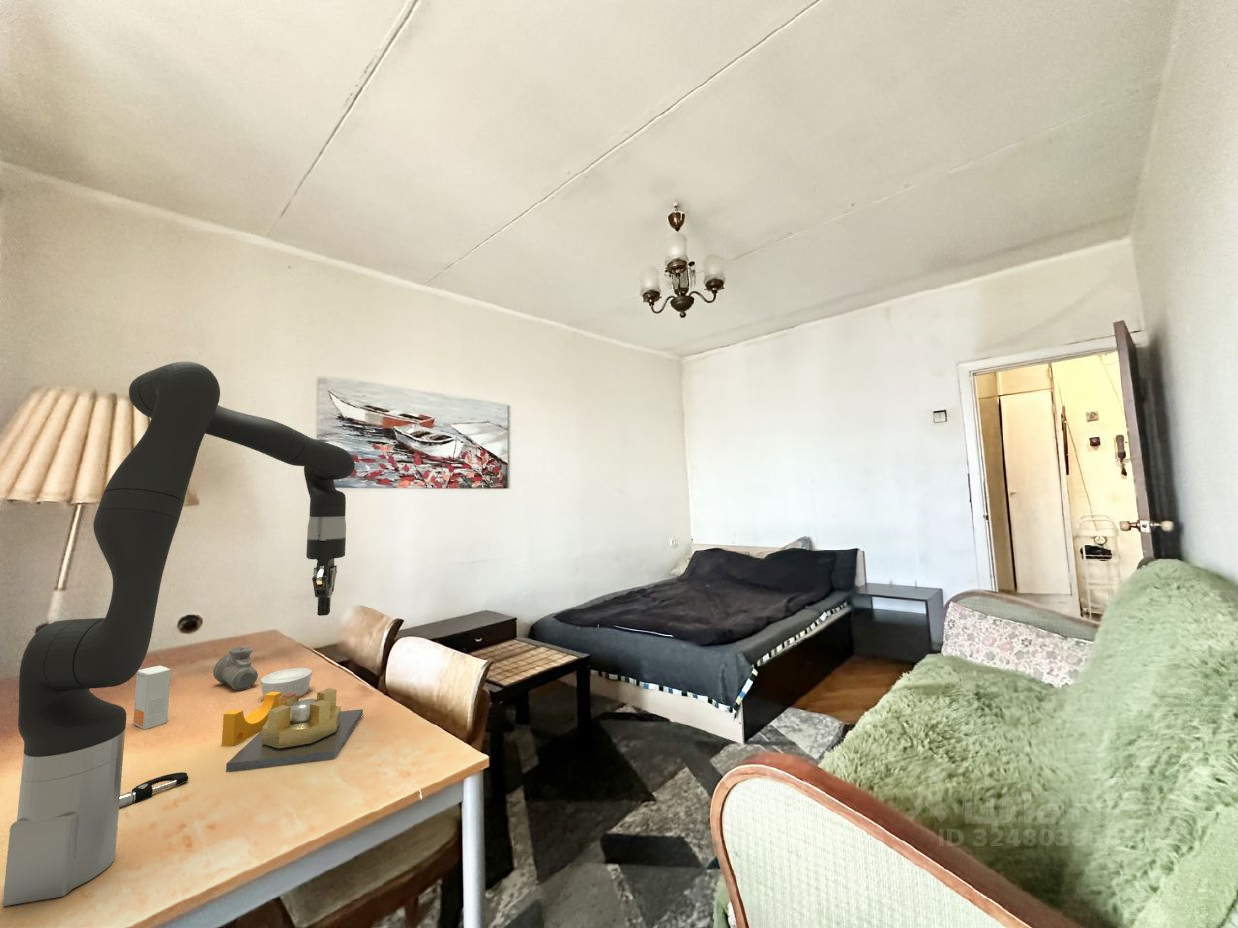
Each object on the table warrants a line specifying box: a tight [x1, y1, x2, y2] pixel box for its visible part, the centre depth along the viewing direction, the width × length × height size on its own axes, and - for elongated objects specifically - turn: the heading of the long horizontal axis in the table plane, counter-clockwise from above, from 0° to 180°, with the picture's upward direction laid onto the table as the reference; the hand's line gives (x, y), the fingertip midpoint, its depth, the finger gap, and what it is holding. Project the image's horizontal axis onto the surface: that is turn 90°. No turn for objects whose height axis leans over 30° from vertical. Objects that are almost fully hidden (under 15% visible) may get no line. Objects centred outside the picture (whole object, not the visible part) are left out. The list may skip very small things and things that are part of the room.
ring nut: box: [262, 687, 342, 748], centre depth 101 cm, size 13×13×7 cm
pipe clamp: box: [221, 692, 282, 747], centre depth 105 cm, size 12×4×6 cm, turn 174°
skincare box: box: [132, 665, 172, 730], centre depth 110 cm, size 6×4×12 cm
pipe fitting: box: [212, 646, 259, 691], centre depth 132 cm, size 12×8×10 cm
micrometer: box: [119, 771, 189, 810], centre depth 81 cm, size 15×7×2 cm, turn 145°
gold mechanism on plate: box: [225, 698, 364, 773], centre depth 101 cm, size 20×18×8 cm
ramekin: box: [260, 667, 313, 699], centre depth 125 cm, size 11×11×5 cm
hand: (323, 614), depth 107 cm, fingers closed
